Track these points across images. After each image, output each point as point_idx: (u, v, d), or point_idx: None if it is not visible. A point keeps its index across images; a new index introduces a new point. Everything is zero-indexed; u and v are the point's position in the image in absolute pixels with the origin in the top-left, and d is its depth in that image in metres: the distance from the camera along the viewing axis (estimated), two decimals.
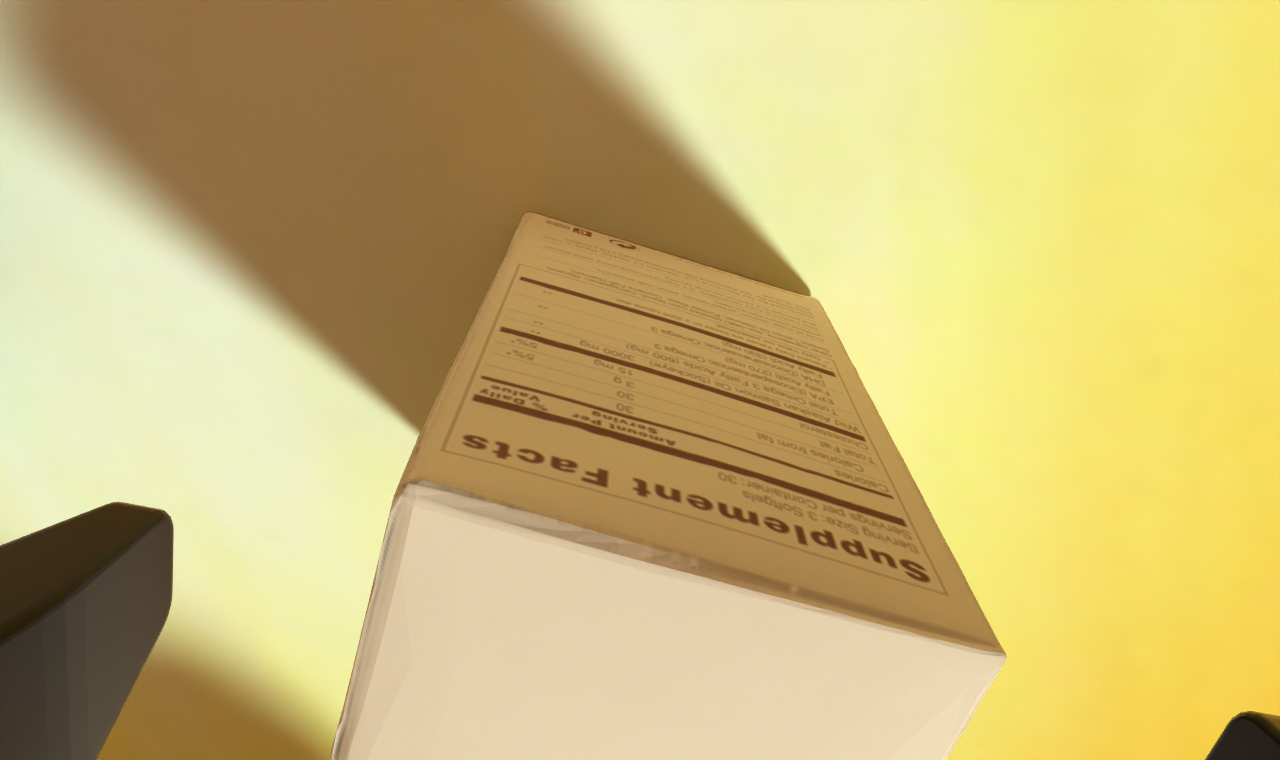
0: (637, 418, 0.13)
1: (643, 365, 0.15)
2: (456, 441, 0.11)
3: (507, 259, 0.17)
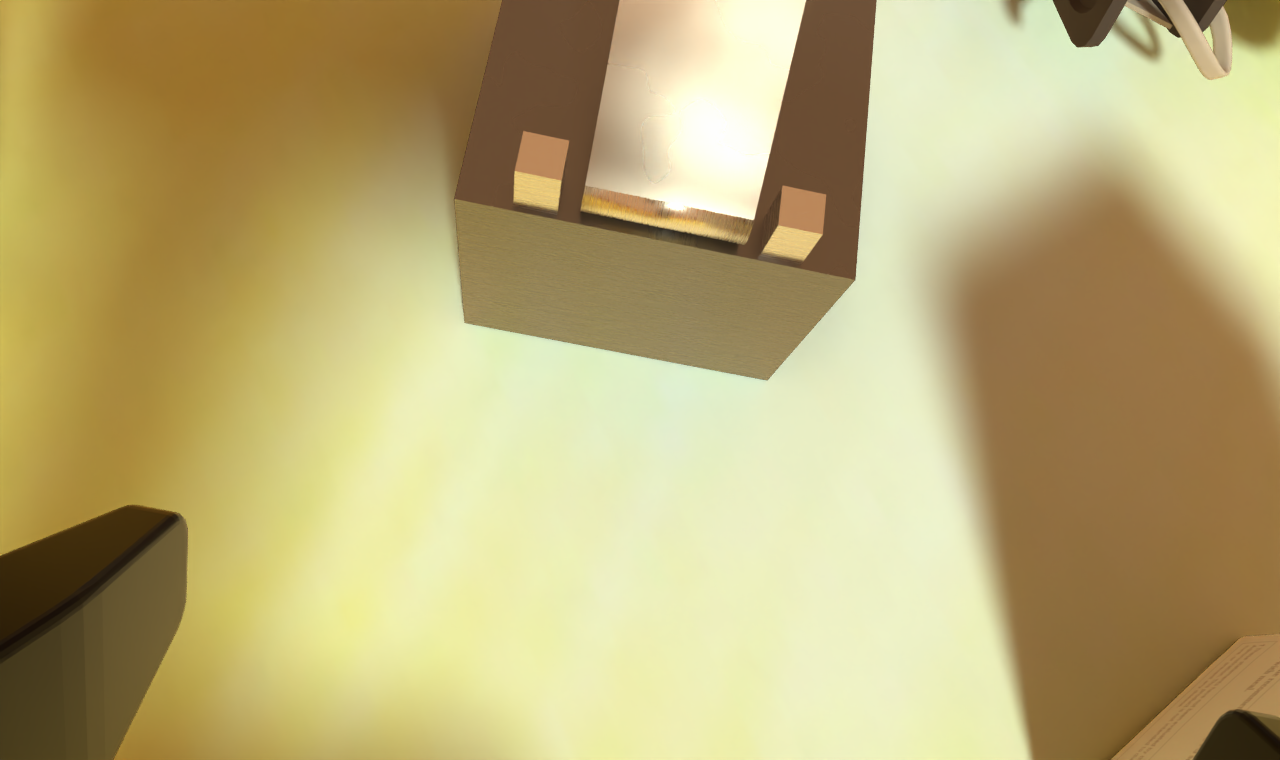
0: None
1: None
2: None
3: None
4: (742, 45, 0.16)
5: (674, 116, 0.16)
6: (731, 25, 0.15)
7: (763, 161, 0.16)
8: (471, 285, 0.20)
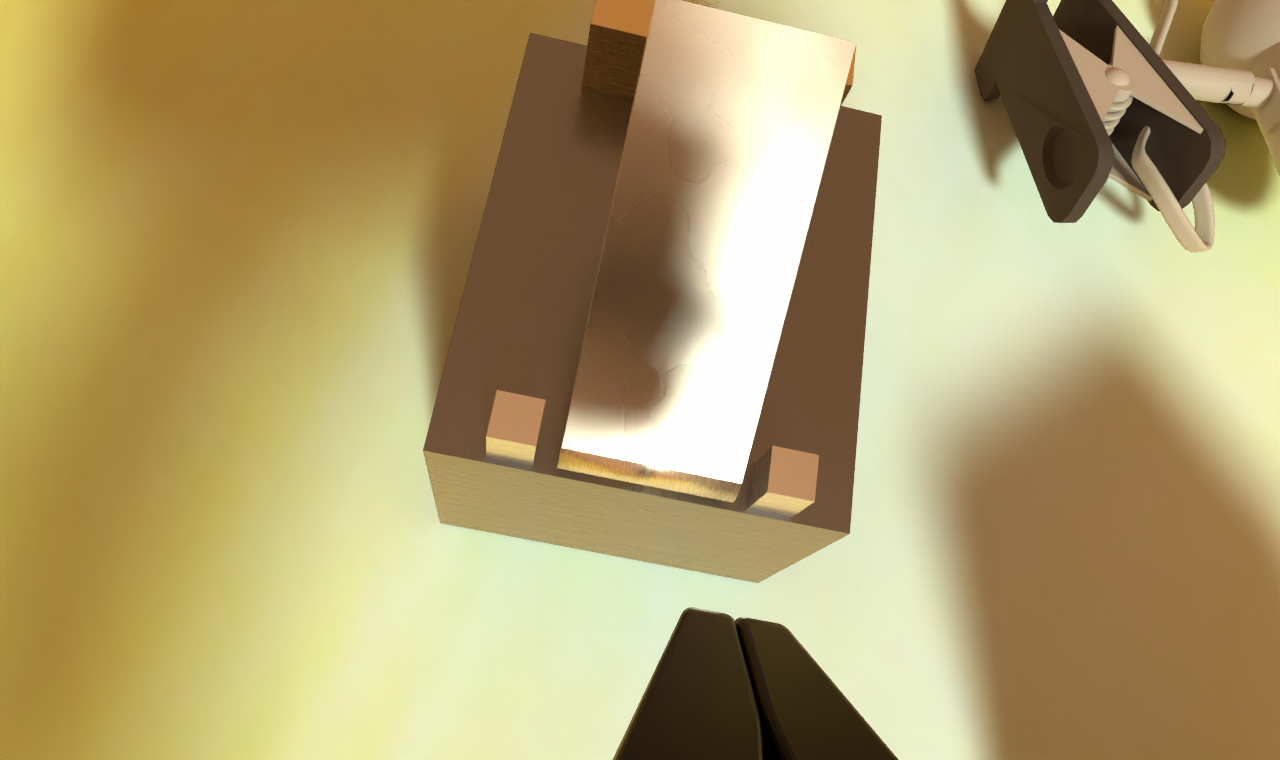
0: None
1: None
2: None
3: None
4: (730, 309, 0.15)
5: (657, 379, 0.15)
6: (719, 289, 0.15)
7: (752, 424, 0.15)
8: (445, 502, 0.19)
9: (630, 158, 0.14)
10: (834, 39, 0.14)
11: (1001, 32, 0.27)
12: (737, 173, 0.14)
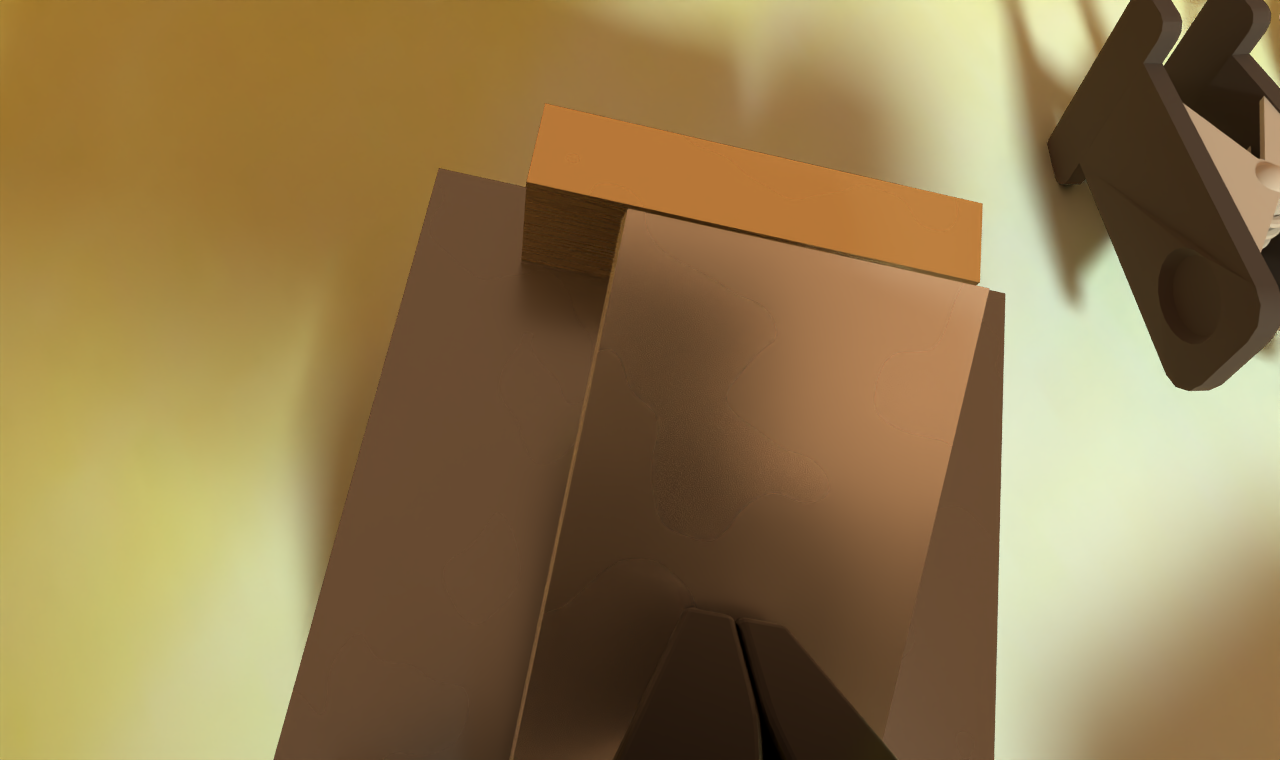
0: None
1: None
2: None
3: None
4: None
5: None
6: None
7: None
8: None
9: (581, 499, 0.07)
10: (946, 282, 0.08)
11: (1090, 97, 0.19)
12: (781, 521, 0.08)
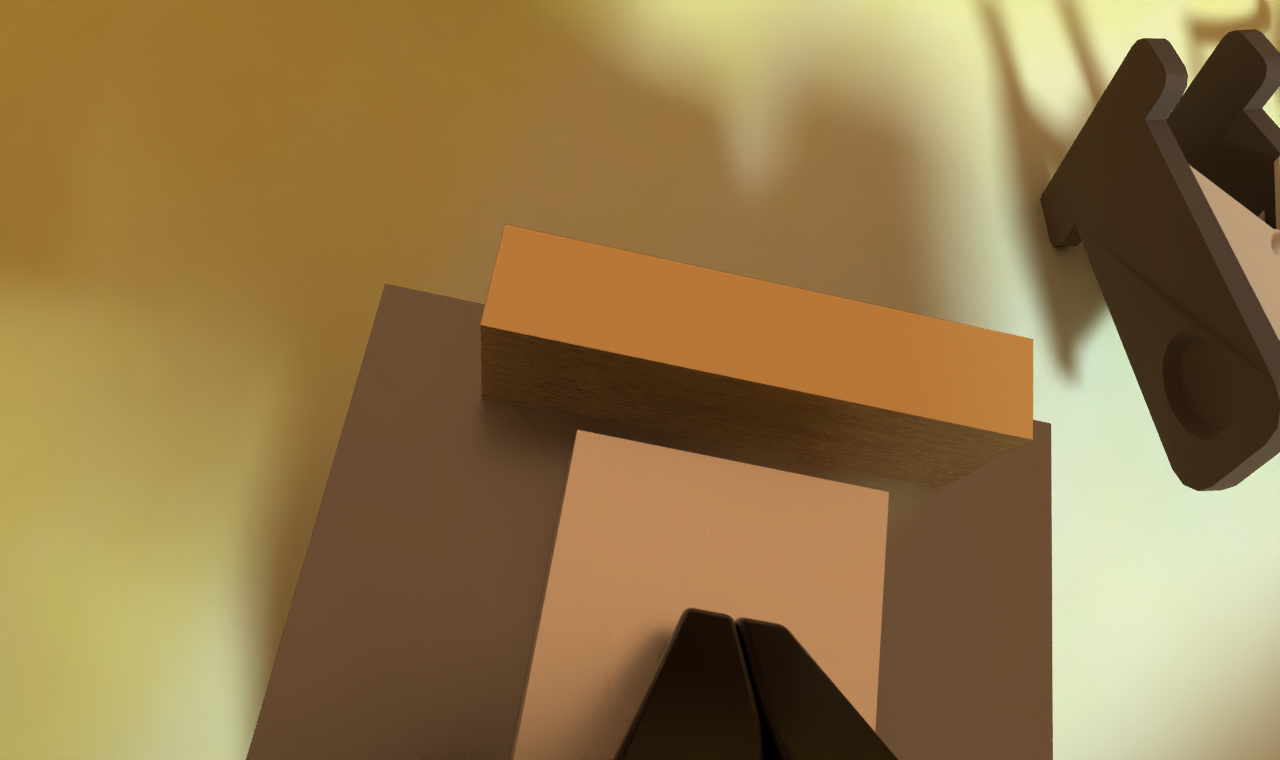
0: None
1: None
2: None
3: None
4: None
5: None
6: None
7: None
8: None
9: (539, 696, 0.08)
10: (852, 491, 0.09)
11: (1086, 153, 0.18)
12: None
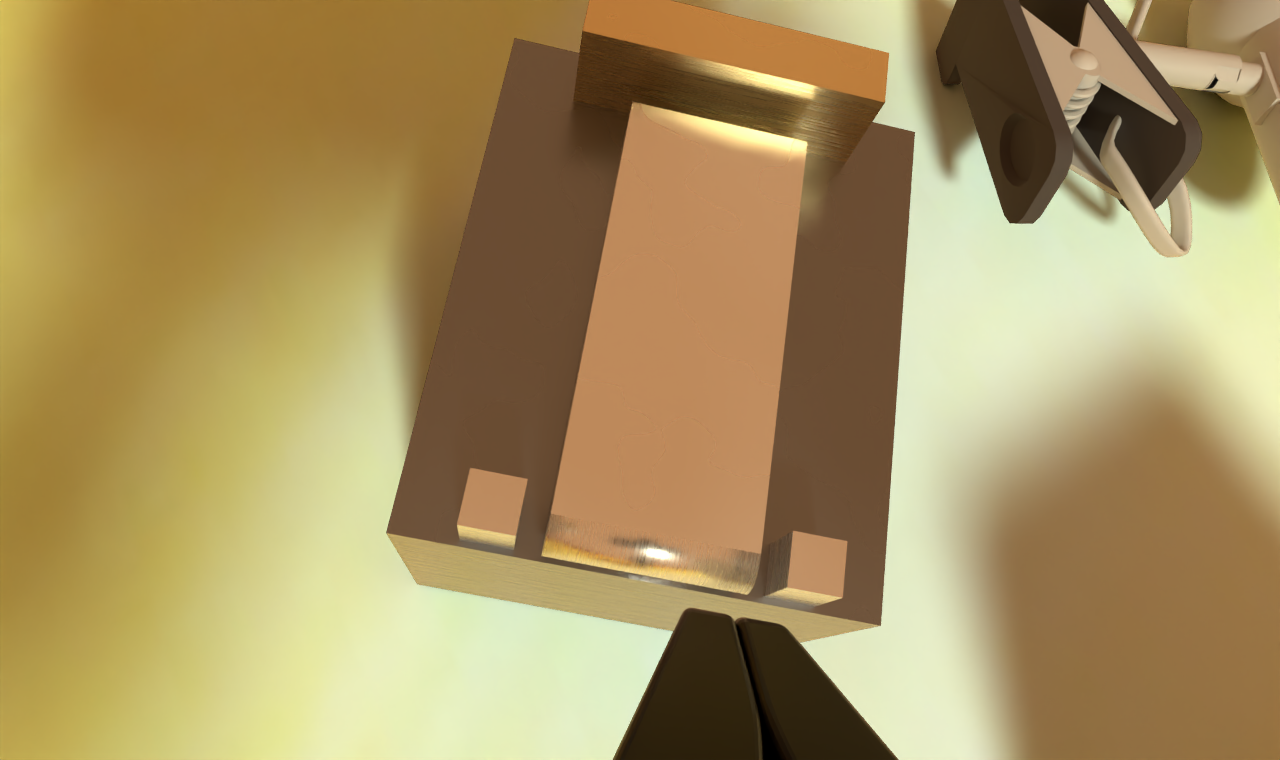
0: None
1: None
2: None
3: None
4: (725, 362, 0.14)
5: (655, 434, 0.13)
6: (711, 343, 0.14)
7: (763, 485, 0.14)
8: (419, 571, 0.17)
9: (615, 224, 0.15)
10: (787, 145, 0.16)
11: (962, 10, 0.24)
12: (717, 239, 0.15)
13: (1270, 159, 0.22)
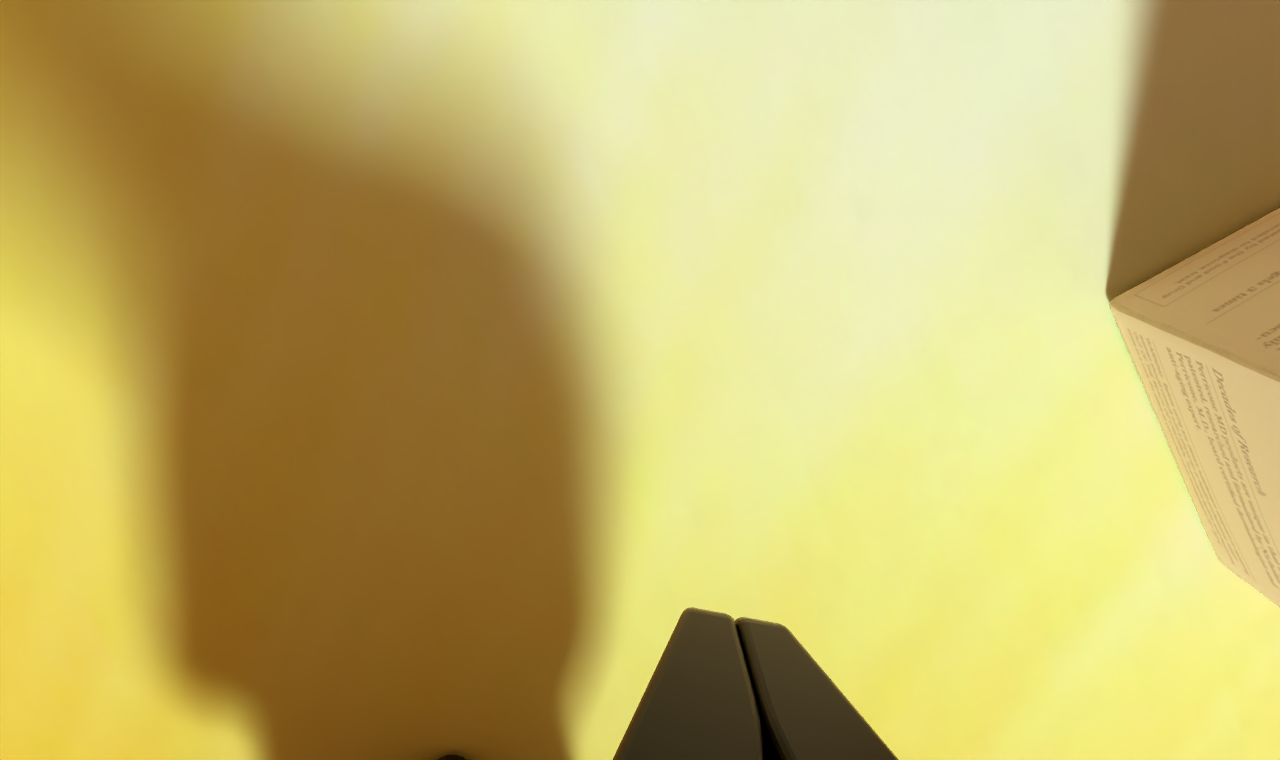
0: None
1: None
2: None
3: None
4: None
5: None
6: None
7: None
8: None
9: None
10: None
11: None
12: None
13: None
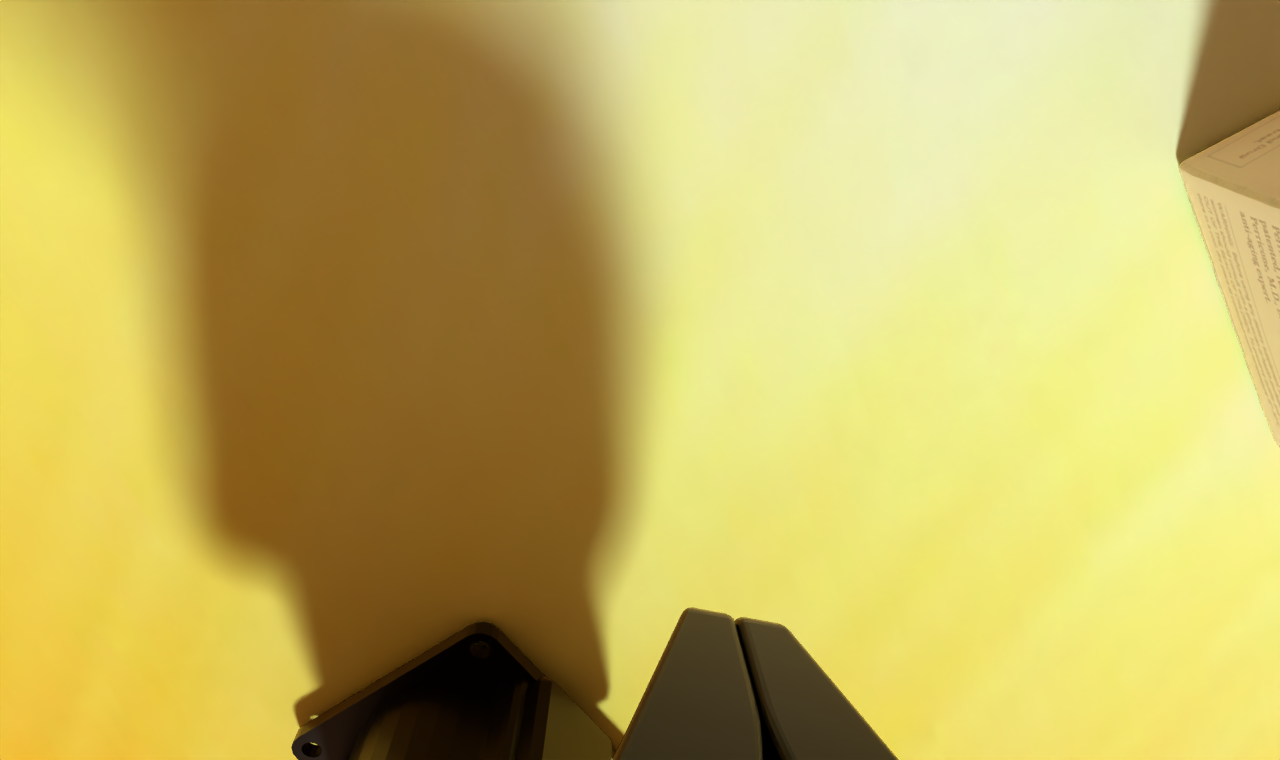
0: None
1: None
2: None
3: None
4: None
5: None
6: None
7: None
8: None
9: None
10: None
11: None
12: None
13: None
